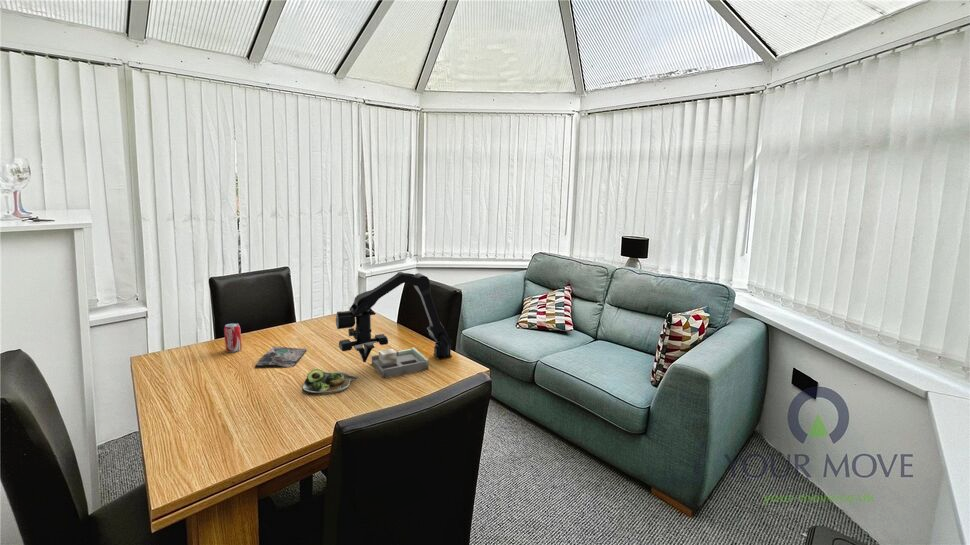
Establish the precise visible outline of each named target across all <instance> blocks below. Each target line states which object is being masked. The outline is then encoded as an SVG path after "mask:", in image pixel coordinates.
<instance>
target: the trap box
mask: <svg viewBox="0 0 970 545" xmlns="http://www.w3.org/2000/svg"><path fill="white" fill-rule="evenodd" d="M395 351H396V350H395ZM396 352H397V361H396V362H391V363H386V364H382V363H381V361H380V360H379V354H375V355H374V354H373V355H371V364H372V365H373V367H374V368H375V369H376V371H377V372H378V373H379V374H380V375H381V377H382V378H383V379H387V378H392V377H397V376H402V375H406V374H411V373H415V372H420V371H421V372H422V371H427V370H429V359H428V358H427V357H426V356H425V355H423V354H422V353H421V352H420V351H419V350H417V348H416V347H411V348H409V349H403V350H397V351H396Z"/></svg>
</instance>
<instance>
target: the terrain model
mask: <svg viewBox="0 0 970 545" xmlns="http://www.w3.org/2000/svg"><path fill="white" fill-rule="evenodd" d="M307 351H308V349H307V348H299V347H286V346H285V347H284V346H275V345H274V346H272V347H271V348H270V349H269V351H268V352H266V353H265V354H263V355H262V356H261V357H260V359H258V361H257V362H256V364H255V366H254V368H256V369H257V368H263V369H264V368H265V369H266V368H284V369H285V368H287V369H288V368H294V367H295V366H296V365H297V364H298V363H299V361H300V360H301V359H302V357H303V356H304V355H305V354H306V353H307Z"/></svg>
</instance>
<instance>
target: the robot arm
mask: <svg viewBox="0 0 970 545" xmlns="http://www.w3.org/2000/svg"><path fill="white" fill-rule="evenodd" d="M402 284H408V285H410V286H413V287H414V289H415V290H416V292H417V293H418V295H419V297H420V298H421V302H422V305H423V308H424V310H425V313H426V317H427V318H428V322H429V326H427V327H426V330H428V335H429V337H431V339H433V340H434V341H435V344H434V347H433V349H434V350H433V356H434V357H435V358H437V359H438V360H444V359H449V358H453V355H452V354H451V352H452V351H451V349H452V345H453V342H454V341H453V339H451V337H449V335H448V332H447V330H446V328H445V327H444V325H443V324H442V322H441V321H440V318H439V316H438V312H437V310H436V307H435V304H434V300H433V298H432V294H431V283H430V279H429V277H428V276H426V275H424V274H422V273H421V272H420V273H419V272H417V273H415V274H414V273H410V272H404V271H399V272H397V273H395V274H394V275H393V276H392V277H390V278H389V279H387V280H386V281H384V282H382V283H381V284H379V285H378V286H376V287H374V288H372V289H370V290H367V291H364V292H362V293H360V294H357V295H356V296H355V297H354V301H353V303H352V305H351V306H350V307H349V309H348V310H345V311H337V312H336V316H335V317H336V318H335V326H336V329H337V330H342V329H348V330H347V331H348V336H349V337H353V339H354V340H353V341H351V340H350V339H349V338H348V339H342V340H341V339H340V340H339V342H338V348H339V349H340V351H341V352H348V351H351V350H352V349H353V348H354V349H355V351H356V352H358V353H359V356H360V358H361V361H362V362H363V363H366V362H367V360H368V358H369V355H370V354H371V351H372V350H373V349H375V348H376V347H375V345H374V343H375V344H376V343H378V344H379V345H380V346H384V345H388V344H389V338H388V337H387V336H386V335H385V333H379V334H375V335H374V337H371V336H372V323H371V322H372V320H371V319H372V318H371V316H375V315H377V313H376V312H375V311H374V310H373V309H372V307H374V306H375V305H376V303H377V302H378V301H379V299H381V298H382V297H384V296H386V295H387V294H389V293H391V291H393V290H394V289H397V287H399V286H401V285H402ZM354 326H355V327H354ZM353 327H354V328H355V329H354V328H353Z"/></svg>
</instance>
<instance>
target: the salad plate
mask: <svg viewBox="0 0 970 545" xmlns="http://www.w3.org/2000/svg"><path fill="white" fill-rule="evenodd" d="M306 375H307V376H306V378H305V380H304V382H303V386H302V391H303V392H304V393H305V394H307V395H313V396H314V395H316V396H317V395H327V394H334V393H340V392H342V391H344V390H347V389H348V388H349V387H350V384H351V381H353V380H357V379H358V378H359V377H358V376H354V375H353V376H352V375H350V374H349V373H346V372H344V371H338V372H325V371H323V370H322V369H320V368H317V369H312V370H310V371H309V372H308V373H307V374H306ZM339 386H340V388H337V389H334V390H329V389H330V388H332V387H333V388H334V387H339Z"/></svg>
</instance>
